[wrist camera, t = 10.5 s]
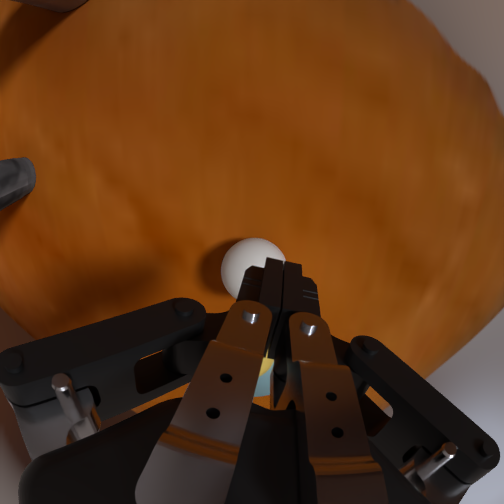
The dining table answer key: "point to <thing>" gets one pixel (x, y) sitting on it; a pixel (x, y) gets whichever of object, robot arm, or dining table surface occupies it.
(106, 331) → the robot arm
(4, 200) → the beverage cup
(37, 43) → the dining table surface
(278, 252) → the cue ball
